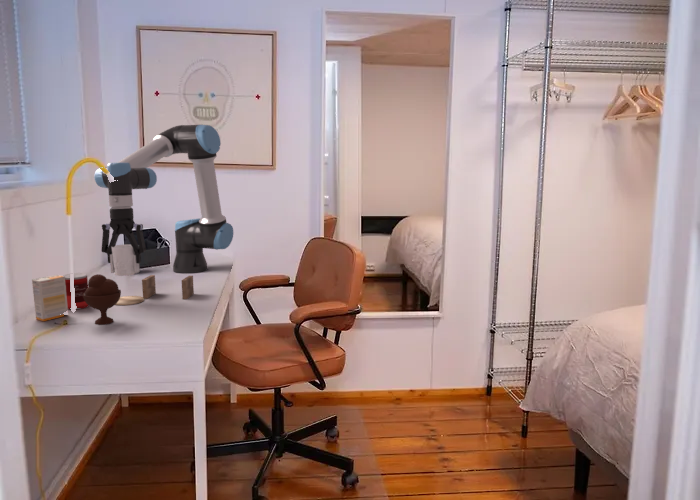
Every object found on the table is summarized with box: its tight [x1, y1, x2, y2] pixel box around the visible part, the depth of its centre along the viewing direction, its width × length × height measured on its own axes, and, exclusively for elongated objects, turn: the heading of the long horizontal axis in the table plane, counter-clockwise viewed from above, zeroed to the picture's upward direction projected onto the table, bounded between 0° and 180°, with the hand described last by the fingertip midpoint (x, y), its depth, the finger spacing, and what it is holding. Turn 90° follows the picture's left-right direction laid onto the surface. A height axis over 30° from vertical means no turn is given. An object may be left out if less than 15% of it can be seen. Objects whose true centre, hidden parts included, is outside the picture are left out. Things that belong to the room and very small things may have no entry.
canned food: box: [62, 272, 90, 310], centre depth 187 cm, size 8×8×11 cm
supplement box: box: [31, 274, 69, 322], centre depth 175 cm, size 8×5×13 cm, turn 145°
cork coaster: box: [114, 295, 145, 306], centre depth 196 cm, size 11×11×1 cm
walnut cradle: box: [141, 274, 195, 300], centre depth 202 cm, size 8×16×7 cm, turn 87°
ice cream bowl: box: [83, 273, 122, 326], centre depth 170 cm, size 11×11×15 cm
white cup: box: [111, 243, 136, 277], centre depth 193 cm, size 8×8×10 cm
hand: (125, 272), depth 194 cm, fingers closed on white cup, 7 cm apart
